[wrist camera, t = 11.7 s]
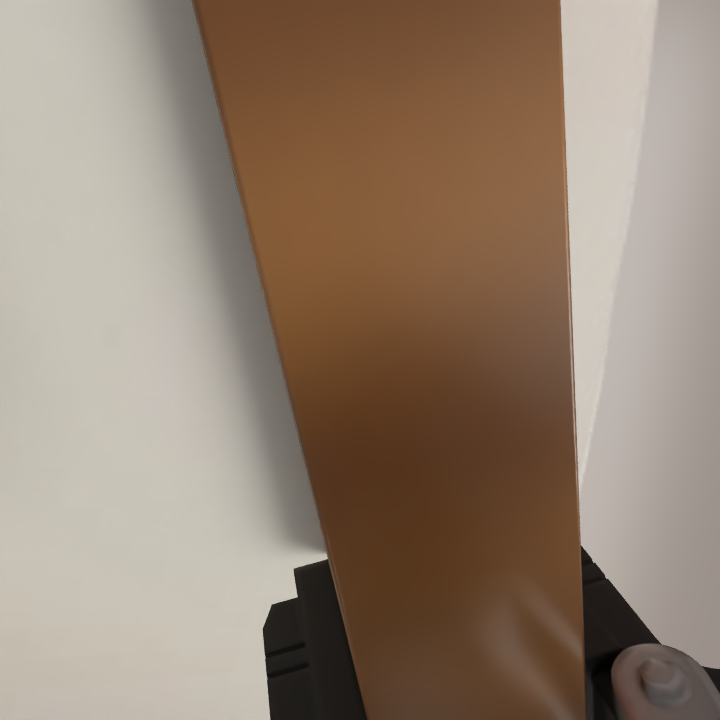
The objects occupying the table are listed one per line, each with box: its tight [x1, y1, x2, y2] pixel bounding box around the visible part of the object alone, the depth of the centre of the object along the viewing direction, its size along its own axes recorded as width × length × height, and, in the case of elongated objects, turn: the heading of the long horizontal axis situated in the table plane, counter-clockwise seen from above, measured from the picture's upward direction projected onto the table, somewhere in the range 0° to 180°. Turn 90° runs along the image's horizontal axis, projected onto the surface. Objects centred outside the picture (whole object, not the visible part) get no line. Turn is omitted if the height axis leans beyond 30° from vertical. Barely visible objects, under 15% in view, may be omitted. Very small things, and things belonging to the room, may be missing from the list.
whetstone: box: [192, 0, 587, 720], centre depth 11 cm, size 20×3×4 cm, turn 10°
